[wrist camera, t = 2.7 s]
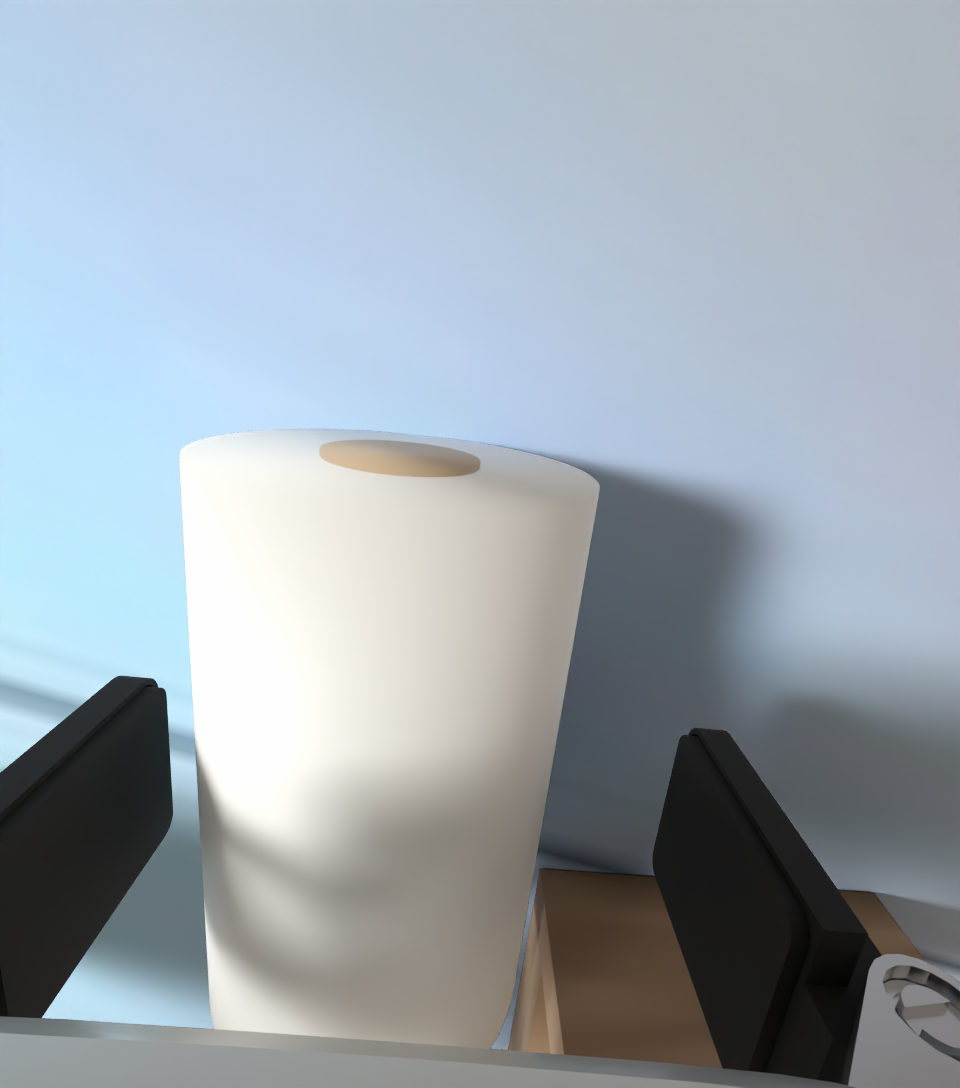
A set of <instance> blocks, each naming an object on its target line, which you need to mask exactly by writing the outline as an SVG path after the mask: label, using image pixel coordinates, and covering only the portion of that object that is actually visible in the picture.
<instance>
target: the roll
mask: <svg viewBox="0 0 960 1088" xmlns="http://www.w3.org/2000/svg"><path fill="white" fill-rule="evenodd" d="M179 460H180V478H181V496H182V514H183V532H184V550H185V568H186V586H187V604H188V622H189V640H190V658H191V676H192V694H193V711H194V729H195V747H196V765H197V783H198V801H199V819H200V837H201V855H202V873H203V891H204V909H205V927H206V945H207V963H208V981H209V999H210V1013H211V1018H212V1024H213V1029H219V1030H234V1031H249V1032H264V1033H278V1034H292V1035H306V1036H320V1037H334V1038H348V1039H362V1040H376V1041H390V1042H403V1043H417V1044H431V1045H444V1046H458V1047H472V1048H485V1049H490V1048H491V1046H492V1045H493V1043H494V1041H495V1040H496V1038H497V1036H498V1035H499V1032H500V1030H501V1028H502V1025H503V1023H504V1021H505V1018H506V1016H507V1013H508V1010H509V1006H510V1003H511V999H512V996H513V991H514V985H515V979H516V973H517V968H518V962H519V956H520V950H521V944H522V939H523V933H524V927H525V921H526V915H527V910H528V904H529V898H530V892H531V886H532V880H533V875H534V869H535V863H536V857H537V851H538V846H539V840H540V834H541V828H542V822H543V817H544V811H545V805H546V799H547V793H548V788H549V782H550V776H551V770H552V764H553V759H554V753H555V747H556V741H557V735H558V730H559V724H560V718H561V712H562V706H563V701H564V695H565V689H566V683H567V677H568V672H569V666H570V660H571V654H572V648H573V643H574V637H575V631H576V625H577V619H578V614H579V608H580V602H581V596H582V590H583V584H584V579H585V573H586V567H587V561H588V555H589V550H590V544H591V538H592V532H593V526H594V521H595V515H596V509H597V503H598V497H599V492H600V485H599V483H598V482H597V480H596V479H594V478H593V477H592V476H591V475H589V474H587V473H586V472H584V471H582V470H580V469H578V468H575V467H573V466H571V465H568V464H565V463H562V462H560V461H557V460H553V459H550V458H547V457H543V456H539V455H536V454H532V453H528V452H523V451H519V450H515V449H510V448H505V447H500V446H495V445H489V444H483V443H477V442H471V441H464V440H458V439H449V438H440V437H430V436H420V435H411V434H401V433H392V432H382V431H366V430H345V429H277V430H259V431H246V432H237V433H229V434H223V435H217V436H213V437H208V438H204V439H201V440H198V441H195V442H192V443H190V444H188V445H187V446H185V447H184V448H183V449H182V450H181V451H180V454H179Z"/></svg>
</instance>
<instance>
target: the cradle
mask: <svg viewBox="0 0 960 1088" xmlns="http://www.w3.org/2000/svg"><path fill="white" fill-rule="evenodd" d="M838 891H839V890H838ZM839 892H840V894H841V895H842V897H843V898H844V899H845V901H846V902H847V904H848V905H849V907H850V908H851V909H852V911H853V912H854V914H855V915H856V917H857V918H858V919H859V921H860V922H861V924H862V925H863V927H864V928H865V930H866V931H867V932H868V936H869V937H870V939H871V940H872V942H873V943H874V945H875V946H876V947H877V949H878V950H879V952H880V953H881V955H882V956H883V955H885V954H902V955H906V956H910V957H914V958H917V959H920V960H923V961H925V960H924V959H923V957H922V956H921V955H920V953H919V952H918V951H917V949H916V948H915V947H914V945H913V944H912V943H911V941H910V940H909V939H908V937H907V936H906V935H905V933H904V932H903V931H902V929H901V928H900V927H899V925H898V924H897V923H896V921H895V920H894V919H893V917H892V916H891V915H890V913H889V912H888V911H887V909H886V908H885V907H884V905H883V904H882V903H881V901H880V900H879V899H878V897H877V896H876V895H875V893H867V892H853V891H839ZM925 962H926V961H925ZM508 1050H510V1051H523V1052H536V1053H548V1054H561V1055H574V1056H587V1057H599V1058H612V1059H625V1060H637V1061H650V1062H663V1063H673V1064H683V1065H693V1066H703V1067H713V1068H722V1065H721V1063H720V1060H719V1057H718V1054H717V1051H716V1048H715V1046H714V1043H713V1040H712V1037H711V1034H710V1031H709V1028H708V1026H707V1023H706V1020H705V1017H704V1014H703V1011H702V1009H701V1006H700V1003H699V1000H698V997H697V994H696V991H695V989H694V986H693V983H692V980H691V977H690V974H689V971H688V969H687V966H686V963H685V960H684V957H683V954H682V952H681V949H680V946H679V943H678V940H677V937H676V934H675V932H674V929H673V926H672V923H671V920H670V917H669V915H668V912H667V909H666V906H665V903H664V900H663V897H662V895H661V892H660V889H659V886H658V883H657V880H656V878H655V877H646V876H632V875H619V874H605V873H591V872H577V871H563V870H550V869H540V872H539V877H538V883H537V889H536V894H535V900H534V906H533V911H532V917H531V923H530V928H529V934H528V940H527V945H526V951H525V957H524V962H523V968H522V974H521V980H520V985H519V991H518V997H517V1002H516V1008H515V1014H514V1019H513V1025H512V1031H511V1036H510V1042H509V1048H508Z"/></svg>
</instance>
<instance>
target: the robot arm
mask: <svg viewBox="0 0 960 1088" xmlns="http://www.w3.org/2000/svg"><path fill="white" fill-rule="evenodd" d="M172 816H173V803H172V786H171V768H170V750H169V733H168V715H167V697H166V692H165V690H164V689H163V688H158V685H157V683H156V681H155V680H154V679H151V678H140V677H129V676H117V677H116V678H114V679H112V680H111V681H110V682H109V683H108V684H106V685H105V686H104V687H103V688H102V689H100V690H99V691H98V692H97V693H96V694H94V695H93V696H92V697H91V698H90V699H88V700H87V701H86V702H85V703H84V704H82V705H81V706H80V707H79V708H78V709H76V710H75V711H74V712H73V713H72V714H70V715H69V716H68V717H67V718H66V719H64V720H63V721H62V722H61V723H60V724H58V725H57V726H56V727H55V728H54V729H52V730H51V731H50V732H49V733H48V734H46V735H45V736H44V737H43V738H42V739H40V740H39V741H38V742H37V743H36V744H34V745H33V746H32V747H31V748H30V749H28V750H27V751H26V752H25V753H24V754H22V755H21V756H20V757H19V758H18V759H16V760H15V761H14V762H13V763H12V764H10V765H9V766H8V767H7V768H6V769H4V770H3V771H2V772H1V773H0V1088H960V981H958V980H957V979H955V978H954V977H952V976H950V975H949V974H947V973H946V972H944V971H943V970H941V969H940V968H937V967H935V966H933V965H931V964H929V963H927V962H925V961H923V960H920V959H917V958H914V957H910V956H906V955H902V954H885V955H883V956H882V955H881V953H880V952H879V950H878V949H877V947H876V946H875V945H874V943H873V942H872V940H871V939H870V937H869V936H868V932H867V931H866V930H865V928H864V927H863V925H862V924H861V922H860V921H859V919H858V918H857V917H856V915H855V914H854V912H853V911H852V909H851V908H850V907H849V905H848V904H847V902H846V901H845V899H844V898H843V897H842V895H841V894H840V892H839V891H838V889H837V888H836V886H835V885H834V884H833V882H832V881H831V879H830V878H829V876H828V875H827V874H826V872H825V871H824V869H823V868H822V866H821V865H820V863H819V862H818V861H817V859H816V858H815V856H814V855H813V853H812V852H811V851H810V849H809V848H808V846H807V845H806V843H805V842H804V841H803V839H802V838H801V836H800V835H799V833H798V832H797V830H796V829H795V828H794V826H793V825H792V823H791V822H790V820H789V819H788V818H787V816H786V815H785V813H784V812H783V810H782V809H781V807H780V806H779V805H778V803H777V802H776V800H775V799H774V797H773V796H772V795H771V793H770V792H769V790H768V789H767V787H766V786H765V785H764V783H763V782H762V780H761V779H760V777H759V776H758V774H757V773H756V772H755V770H754V769H753V767H752V766H751V764H750V763H749V762H748V760H747V759H746V757H745V756H744V754H743V753H742V751H741V750H740V749H739V747H738V746H737V744H736V743H735V741H734V740H733V739H732V737H731V736H730V734H729V733H728V732H727V731H723V730H712V729H701V728H694V729H692V730H691V732H690V733H689V735H683V736H682V737H681V738H680V741H679V744H678V748H677V752H676V757H675V761H674V765H673V769H672V774H671V778H670V782H669V786H668V791H667V795H666V799H665V803H664V807H663V812H662V816H661V820H660V824H659V829H658V833H657V837H656V841H655V846H654V850H653V870H654V874H655V878H656V880H657V883H658V886H659V889H660V892H661V895H662V897H663V900H664V903H665V906H666V909H667V912H668V915H669V917H670V920H671V923H672V926H673V929H674V932H675V934H676V937H677V940H678V943H679V946H680V949H681V952H682V954H683V957H684V960H685V963H686V966H687V969H688V971H689V974H690V977H691V980H692V983H693V986H694V989H695V991H696V994H697V997H698V1000H699V1003H700V1006H701V1009H702V1011H703V1014H704V1017H705V1020H706V1023H707V1026H708V1028H709V1031H710V1034H711V1037H712V1040H713V1043H714V1046H715V1048H716V1051H717V1054H718V1057H719V1060H720V1063H721V1065H722V1068H713V1067H703V1066H693V1065H683V1064H673V1063H663V1062H650V1061H637V1060H625V1059H612V1058H599V1057H587V1056H574V1055H561V1054H548V1053H536V1052H523V1051H510V1050H498V1049H485V1048H472V1047H458V1046H444V1045H431V1044H417V1043H403V1042H390V1041H376V1040H362V1039H348V1038H334V1037H320V1036H306V1035H292V1034H278V1033H264V1032H249V1031H234V1030H219V1029H204V1028H188V1027H173V1026H158V1025H143V1024H128V1023H112V1022H97V1021H82V1020H67V1019H46V1018H42V1016H43V1015H44V1013H45V1012H46V1010H47V1009H48V1007H49V1006H50V1005H51V1003H52V1002H53V1000H54V999H55V997H56V996H57V994H58V993H59V991H60V990H61V988H62V987H63V985H64V984H65V982H66V981H67V980H68V978H69V977H70V975H71V974H72V972H73V971H74V969H75V968H76V966H77V965H78V963H79V962H80V960H81V959H82V957H83V956H84V955H85V953H86V952H87V950H88V949H89V947H90V946H91V944H92V943H93V941H94V940H95V938H96V937H97V935H98V934H99V932H100V931H101V930H102V928H103V927H104V925H105V924H106V922H107V921H108V919H109V918H110V916H111V915H112V913H113V912H114V910H115V909H116V907H117V906H118V904H119V903H120V902H121V900H122V899H123V897H124V896H125V894H126V893H127V891H128V890H129V888H130V887H131V885H132V884H133V882H134V881H135V879H136V878H137V877H138V875H139V874H140V872H141V871H142V869H143V868H144V866H145V865H146V863H147V862H148V860H149V859H150V857H151V856H152V854H153V853H154V852H155V850H156V849H157V847H158V846H159V844H160V843H161V841H162V840H163V838H164V837H165V835H166V833H167V832H168V829H169V827H170V824H171V821H172Z"/></svg>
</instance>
